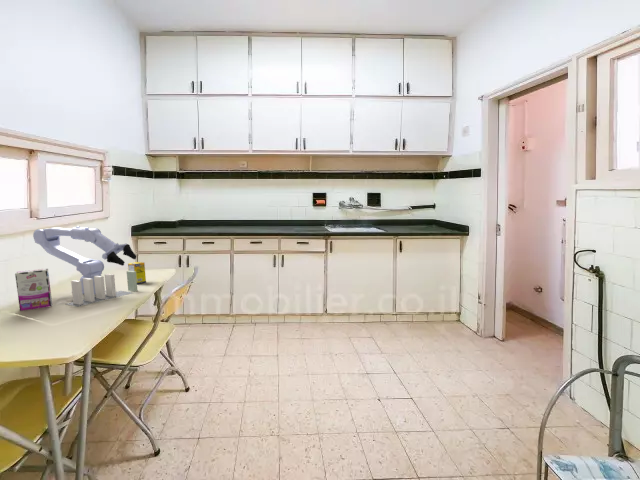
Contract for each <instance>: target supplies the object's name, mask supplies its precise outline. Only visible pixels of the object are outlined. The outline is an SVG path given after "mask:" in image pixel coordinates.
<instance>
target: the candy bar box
mask: <svg viewBox="0 0 640 480" xmlns="http://www.w3.org/2000/svg"><path fill="white" fill-rule="evenodd" d="M14 276H15V283H16V289H17V290H16V292H17V299H18V305H19V311H20V312H21V311H28V310H36V309H42V308H45V309H46V308H50V307H52V306H53V299H52V292H51V291H52V290H51V284H50V283H51V282H50V274H49V268H41V269H40V268H39V269H31V270H22V271H16V272H15V274H14Z"/></svg>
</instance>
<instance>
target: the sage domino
mask: <svg viewBox="0 0 640 480" xmlns="http://www.w3.org/2000/svg"><path fill="white" fill-rule="evenodd" d="M126 281H127V290H128V292H138V284H137V278H136V271H129V270H127V271H126Z"/></svg>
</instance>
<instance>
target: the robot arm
mask: <svg viewBox="0 0 640 480" xmlns="http://www.w3.org/2000/svg"><path fill="white" fill-rule="evenodd" d="M64 236H65V237H70V238H71V239H73V240H80V241H84V242H86V243H88V242H89V243H91V244H93V245H95V246H96V247H97V248H99V249H101V250H102V251H103V252H104V253H102V255H101V258H102V259H104V260H106V262H107V263H110V264H116V265H120V266H122V267H123V266H125V260H123V259H122V258H121V257H120V256H118V254H119V253H120V252H123V254H122V255H123V256H127V257H129V258H130V259H133V260H136V259H137V254H136V253H135V252H134V251H133V250H132V248H131V246H130V244H128V243H122V244H119V243H118V242H117V243H115V242H114V241H113V240H111V239H110V238H108V237H107V236H105V235H104V234H103V233H102V232H101V229H99V228H97V227H93V228H89V227H88V226H86V227H81V226H79V225H77V226H74V227H72V228H65V227H64V228H63V227H49V228H43V229H42V228H41V229H39V228H38V229H35V230H34V232H33V234H32V237H33V241H34V243H36V244H38V245H40V246H41V248H43V250H44V252H46V253H47V254H49V255H51V256H53V257H54V258H55V257H56V258H57V259H60V260H61V261H63V262H65V263H68V264H70V265H72V266H74V267H76V271H77V272H79V273H80V274H81V275H82V276H81V277H80V279H79V281H81V285H82V295H84V286H83V278H91V279H93V288H94V296H96V293H95V283H94V276H102V274H103V271H104V269H105V264H104V262H103V261H102V260H101V259H94V258H88V257H84V256H82V255H80V254H78V253H76V252H74V251H71V250H69V249H67V248H65V247H63V246H60V244H61V240H60V239H61V238H60V237H64ZM105 293H106V290H105Z"/></svg>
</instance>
